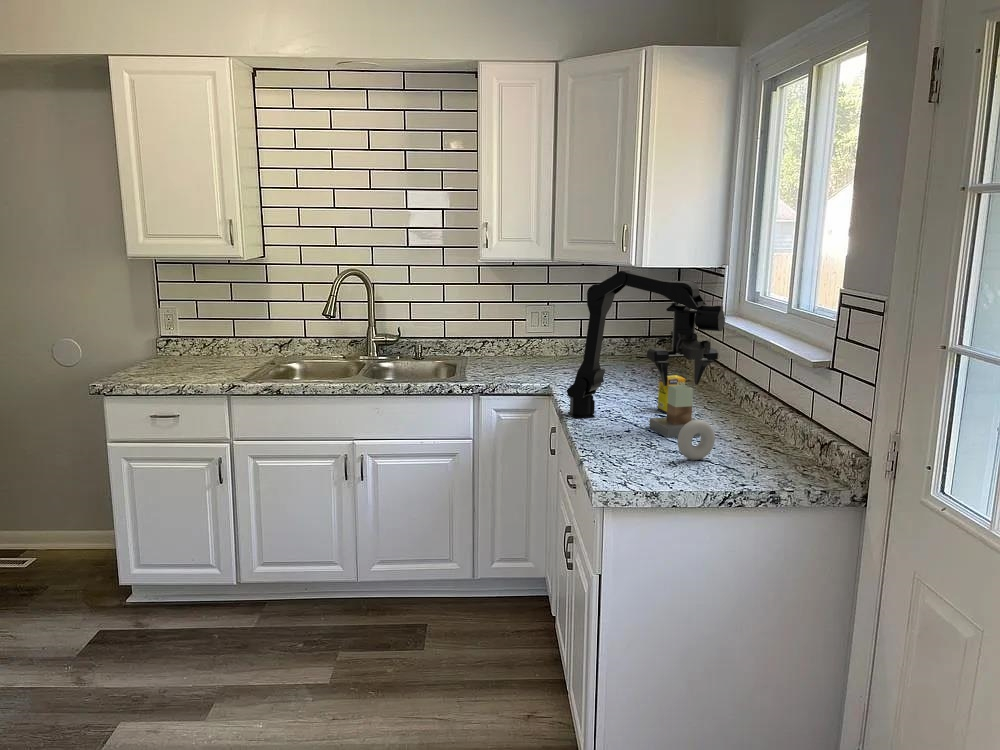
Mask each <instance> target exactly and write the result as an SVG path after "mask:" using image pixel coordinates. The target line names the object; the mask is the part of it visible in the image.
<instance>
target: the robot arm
mask: <svg viewBox="0 0 1000 750" xmlns="http://www.w3.org/2000/svg"><path fill="white" fill-rule="evenodd" d="M625 287H631V288H634V289H638V290H641V291H647V292H649V293H650V292H651V293H652V294H653V293H654V294H658V295H661V296H663V297H665V298H666V299H668V300H669V301H672V303H671V305H669V306H668V307H667V308H666V312H671V313H672V312H673V328H672V330H671V331H670V336H672V344H671V345H670V347H669V350H667V349H665V348H662V347H657V348H656V347H655V348H653V347H652V348H648V350H647V351H646V359H647V360H650V362H652V363H654V364H655V366H656V368H657V370H658V372H659V377H660V376H661V378H662V381H663V384H664V386H667V381H668V376H669V375H668V373H669V372H668V370H669V368H668V367H669V365H670V362H669V361H668V359H671V358H672V359H673V358H674V359H675V358H676V359H677V358H685V359H686V360H688V361H692V360H694V369H693V370H694V373H693V374H694V377H693V379H694V385H699V383H700V380H701V378H702V376H703V374H704V371H705V369H706V368H707V366H709V365H710V364H713V363H714V362H715V361H717V360H719V351H718V350H717V348H714V347H711V342H710V340H701V341H699V340H698V333H697V332H696V330H695V329H696V327H697V328H698V329H699V331H709V332H710V331H711V332H712V331H713V332H722V331H723V330H724V328H725V323H726V317H725V312H724V306H723V305H722V304H721V305H720V304H719V305H707V303H706V301H705V300H704V298H703V297H702V296H701V294H700V288H699V286H698V284H697V283H696V282H694V281H683V280H666V279H665V280H664V279H661V278H657V277H653V276H650V275H649V276H648V275H645V274H640V273H637V272H632V271H630V270H618V272H616V273H615V274H614V275H611V277H608V278H607V279H605V280H603V281H601V282H599V283H595V284H592V285H590V287H588V289H587V292H586V305H587V309H588V312H589V316H588V317H589V318H588V326H587V331H586V338H585V346H584V352H583V360H582V363H581V365H580V366H579V367H578V370H577V372H576V376H575V378H574V382H573V383H572V384H571V386H569V387H568V388H567V389H566V393H567V397H568V398H569V411H567V414H568V415H569V416H570V417H572V418H574V419H580V418H581V419H582V418H583V419H584V418H595V416H596V415H595V406H596V401H595V400H594V395H595V394H596V392H597V390H598V389H599V388H601V386H602V383H604V382H605V380H604V376H605V372H606V369H605V368H601V365H600V359H601V358H600V357H601V351H602V347H603V346H602V345H603V340H604V339H603V338H604V333H605V332H604V330H605V324H606V318H607V314H608V313H609V311H610V309H611V307H612V305H613V303H614V300H615V295H616V294H618V293H620V292H621V291H622V290H623V289H624V288H625Z"/></svg>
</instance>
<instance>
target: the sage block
mask: <svg viewBox="0 0 1000 750" xmlns="http://www.w3.org/2000/svg"><path fill="white" fill-rule="evenodd" d="M693 399H694V388H693V387H691V386H689V385H686V384H685V385H668V402H667V403H668V404H670V405H672V406H674V407H688V406H692V407H693Z"/></svg>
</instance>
